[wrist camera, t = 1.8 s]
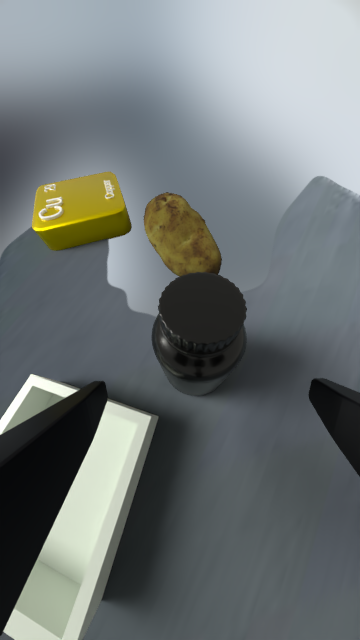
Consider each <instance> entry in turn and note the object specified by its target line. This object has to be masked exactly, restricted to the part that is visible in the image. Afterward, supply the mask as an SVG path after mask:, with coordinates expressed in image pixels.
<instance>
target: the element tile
mask: <svg viewBox="0 0 360 640" xmlns="http://www.w3.org/2000/svg"><path fill="white" fill-rule="evenodd" d="M32 228H33V229H34V231H35V232H36V233H37V234H38V235H39V237H40V238H41V239H42V240H43V241H44V243H45V244H46V245H47V246H48V247H49V249H51V250H56V251H57V250H63V249H67V248H71V247H75V246H79V245H83V244H87V243H91V242H95V241H99V240H103V239H107V238H109V239H112V238H116V237H120V236H123V235H126V234H127V233H129V232H130V231H131V228H132V227H131V222H130V219H129V215H128V212H127V209H126V205H125V202H124V199H123V196H122V193H121V190H120V187H119V184H118V181H117V178H116V176H115V174H113V173H111V172H104V173H99V174H94V175H90V176H84V177H79V178H75V179H70V180H65V181H60V182H55V183H50V184H45V185H42V186H40V187H39V188H38V189H37V191H36V197H35V205H34V213H33V221H32Z"/></svg>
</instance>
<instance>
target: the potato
mask: <svg viewBox="0 0 360 640" xmlns="http://www.w3.org/2000/svg"><path fill="white" fill-rule="evenodd" d="M144 225H145V231H146V234H147V236H148V239H149V241H150V243H151V244H152V246H153V247H154V249H155V250H156V252H157V253H158V254H159V255H160V257H161V258H162V260H163V262H164V264H165V265H166V266H167V267H168V268H169V269H170V270H171V271H172V272H173V273H174V274H176V275H178V276H179V277H181V276H182V275H187V274H189V273H196V272H207V273H214V274H216V275H218V273H219V270H220V266H221V260H222V259H221V254H220V251H219V249H218V246H217V244H216V242H215V241H214V239H213V237H212V235H211V233H210V231H209V230H208V228H207V226H206V224H205V220H204V219H202V217H201V216H200V215H199V213H198V212H196V211H195V210H193V209H192V208H191V207H190V205H189V204H188V202H187V201H186V200H185V199H184V198H182V196H180V195H177V194H172V193H168V192H167V193H164V194H161V195H158V196H157V197H155V198H153V199H152V200H151V201H150V202H149V203H148V204H147V206H146V209H145V215H144Z"/></svg>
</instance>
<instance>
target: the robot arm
mask: <svg viewBox="0 0 360 640" xmlns="http://www.w3.org/2000/svg"><path fill="white" fill-rule="evenodd" d="M309 399H310V402H311V403H312V405H313V407H314V408H315V410H316V412H317V413H318V415H319V417H320V418H321V420H322V422H323V423H324V425H325V427H326V429H327V430H328V432H329V433H330V435H331V437H332V438H333V440H334V441H335V443H336V444H337V445H338V447H339V448H340V450H341V451H342V453H343V454H344V455H345V457H346V458H347V460H348V461H349V462H350V464H351V465H352V467H353V468H354V469H355V471H356V472H357V474H358V475H359V476H360V393H359V392H356V391H354V390H351V389H349V388H347V387H344V386H342V385H339V384H337V383H334V382H332V381H329V380H327V379H323V378H315V379H313V380H312V381H311V386H310V390H309ZM107 400H108V396H107V390H106V385H105V382H104V381H94V382H92V383H90V384H89V385H87V386H85V387H83V388H82V389H80V390H78V391H76V392H75V393H73V394H71V395H69V396H68V397H66V398H64V399H62V400H61V401H59V402H57V403H55V404H54V405H52V406H50V407H48V408H47V409H45V410H43V411H41V412H40V413H38V414H36V415H34V416H33V417H31V418H29V419H27V420H25V421H24V422H22V423H20V424H18V425H17V426H15V427H13V428H11V429H10V430H8V431H6V432H4V433H3V434H1V435H0V636H1V635H2V633H3V631H4V629H5V627H6V625H7V622H8V620H9V618H10V616H11V614H12V612H13V610H14V608H15V605H16V603H17V601H18V599H19V597H20V595H21V593H22V591H23V588H24V586H25V584H26V582H27V580H28V578H29V576H30V573H31V571H32V569H33V567H34V565H35V563H36V561H37V559H38V556H39V554H40V552H41V550H42V548H43V546H44V544H45V541H46V539H47V537H48V535H49V533H50V531H51V529H52V527H53V524H54V522H55V520H56V518H57V516H58V514H59V512H60V510H61V507H62V505H63V503H64V501H65V499H66V497H67V495H68V492H69V490H70V488H71V486H72V484H73V482H74V480H75V478H76V475H77V473H78V471H79V469H80V467H81V465H82V463H83V461H84V458H85V456H86V454H87V452H88V450H89V448H90V446H91V443H92V441H93V439H94V437H95V434H96V431H97V429H98V426H99V423H100V420H101V418H102V415H103V412H104V409H105V406H106V404H107Z"/></svg>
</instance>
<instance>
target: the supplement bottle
mask: <svg viewBox="0 0 360 640" xmlns="http://www.w3.org/2000/svg"><path fill="white" fill-rule="evenodd" d="M159 303H160V304H159V306H158V310H159V314H158V316H157V318H156V320H155V322H154V325H153V329H152V345H153V349H154V352H155V355H156V357H157V359H158V361H159V363H160V365H161V367H162V369H163V371H164V373H165V375H166V377H167V379H168V380H169V382H170V383H171V385H172V386H173V387H174V388H176V389H177V390H178V391H180V392H182V393H184V394H187V395H191V396H200V395H205V394H208V393H210V392H212V391H213V390H215V389H216V388H217V387H218V386H219V385H220V384H221V383H222V382H223V381H224V380H225V379H226V378H227V377H228V375H229V374H230V373H231V372H232V371H233V370H234V369H235V368H236V367H237V365H238V364H239V362H240V361H241V359H242V357H243V355H244V352H245V349H246V340H247V337H246V330H245V327H244V321H245V319H246V311H247V308H246V306H245V304H246V301H245V300H244V299H243V294H242V293H240V290H239V288H237V287H236V286H235V285H234V283H232V282H230V281H229V280H228V279H226V278H223V277H222V276H220V275H216V274H214V273H207V272H196V273H189V274H187V275H182V276H181V277H178V278H176V279H175V280H174V281H172V282H171V283H170V284H169V285H168V286H167V287H166V288H165V290H164V291H163V292H162V296H161V298H160V299H159Z"/></svg>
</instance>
